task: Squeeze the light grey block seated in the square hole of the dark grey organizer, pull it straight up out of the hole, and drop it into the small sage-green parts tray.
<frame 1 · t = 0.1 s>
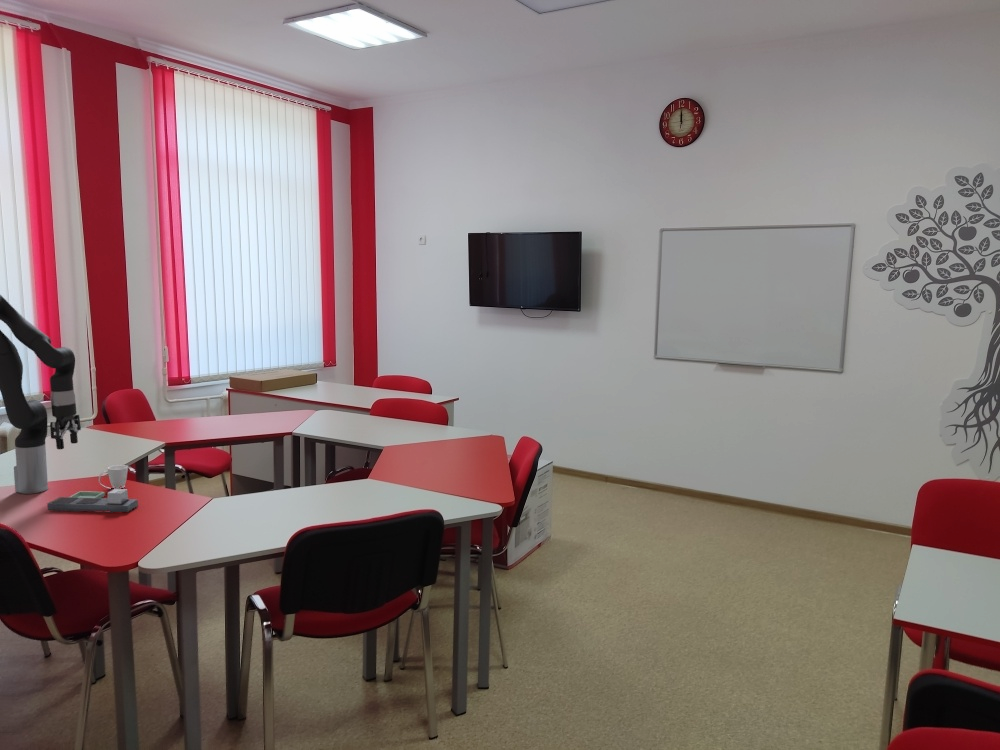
hand: (67, 446, 254), 17 cm above the table, tool pointing down, fingers open, 8 cm apart
cup: (114, 488, 262), on the table
tray: (85, 499, 248), on the table
dark grey organizer: (92, 508, 240), on the table
light grey block: (118, 509, 240), resting in dark grey organizer
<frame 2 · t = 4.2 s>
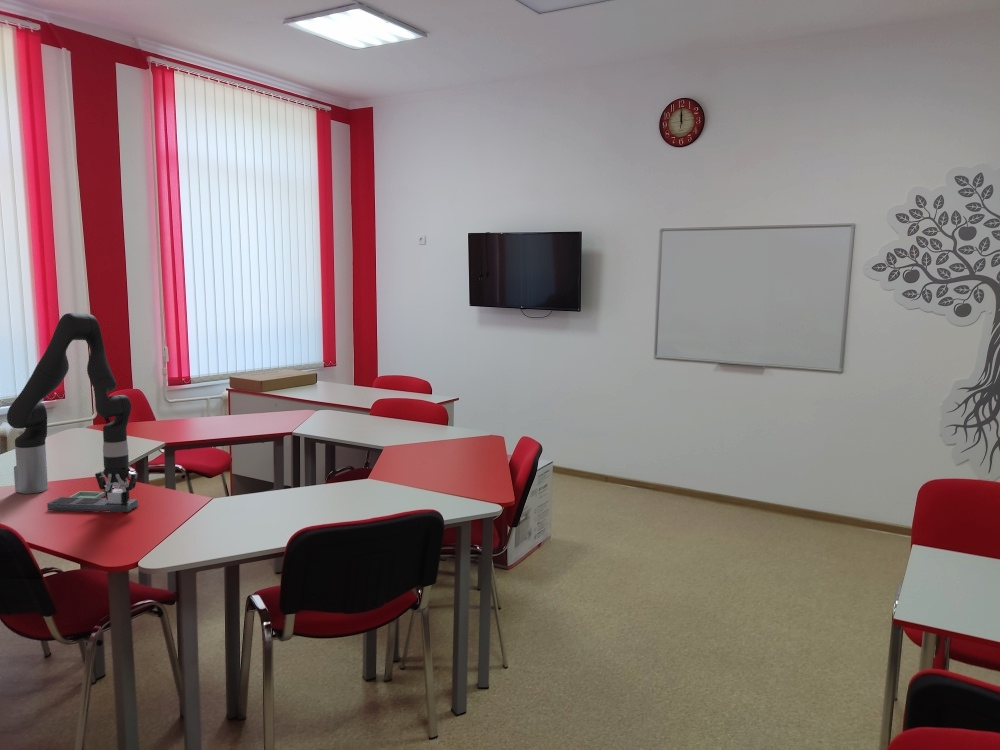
hand: (118, 501, 240), 3 cm above the table, tool pointing down, fingers closed on light grey block, 4 cm apart
light grey block: (118, 509, 240), resting in dark grey organizer, touching gripper
everything else where it was.
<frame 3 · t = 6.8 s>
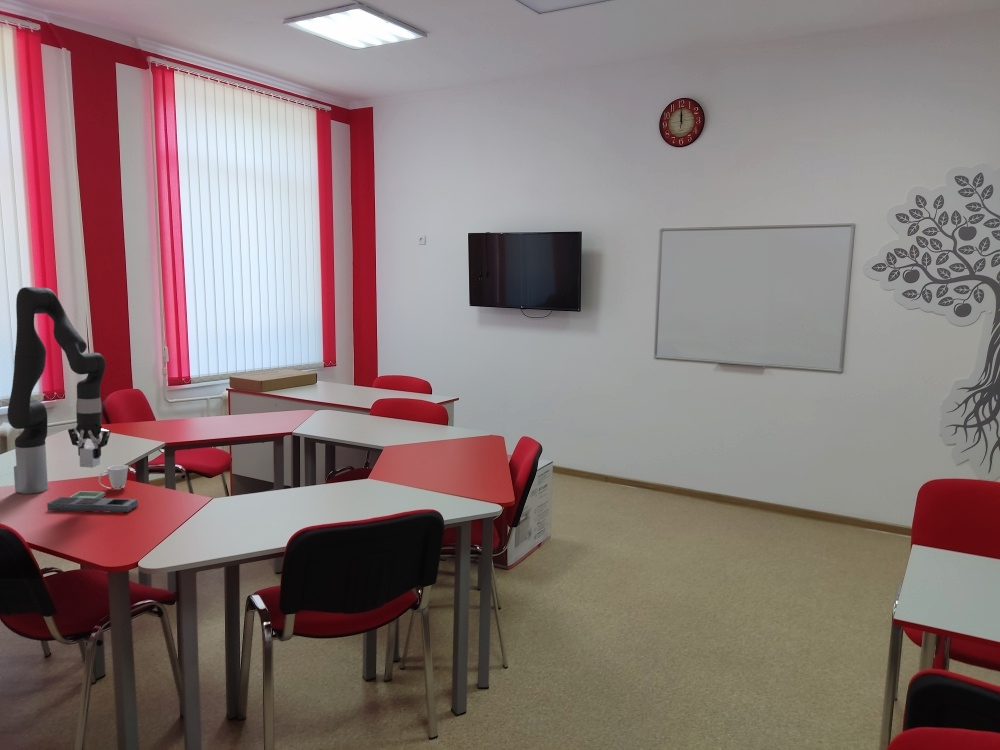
hand: (89, 457, 244), 16 cm above the table, tool pointing down, fingers closed on light grey block, 4 cm apart
light grey block: (90, 465, 244), point 13 cm above the table, touching gripper
everything else where it was.
when the fingers open (5 cm above the table, at t = 9.4 s): light grey block drops 2 cm, resting on tray.
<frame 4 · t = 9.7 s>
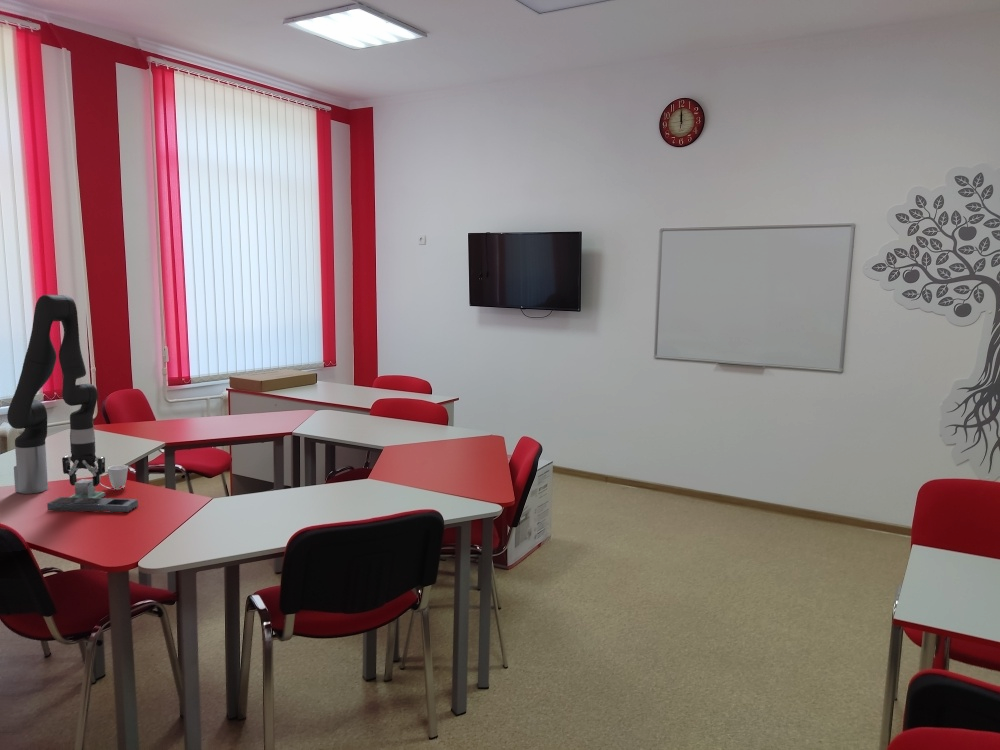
hand: (84, 485, 247), 5 cm above the table, tool pointing down, fingers open, 7 cm apart
light grey block: (85, 498, 248), resting on tray
everything else where it was.
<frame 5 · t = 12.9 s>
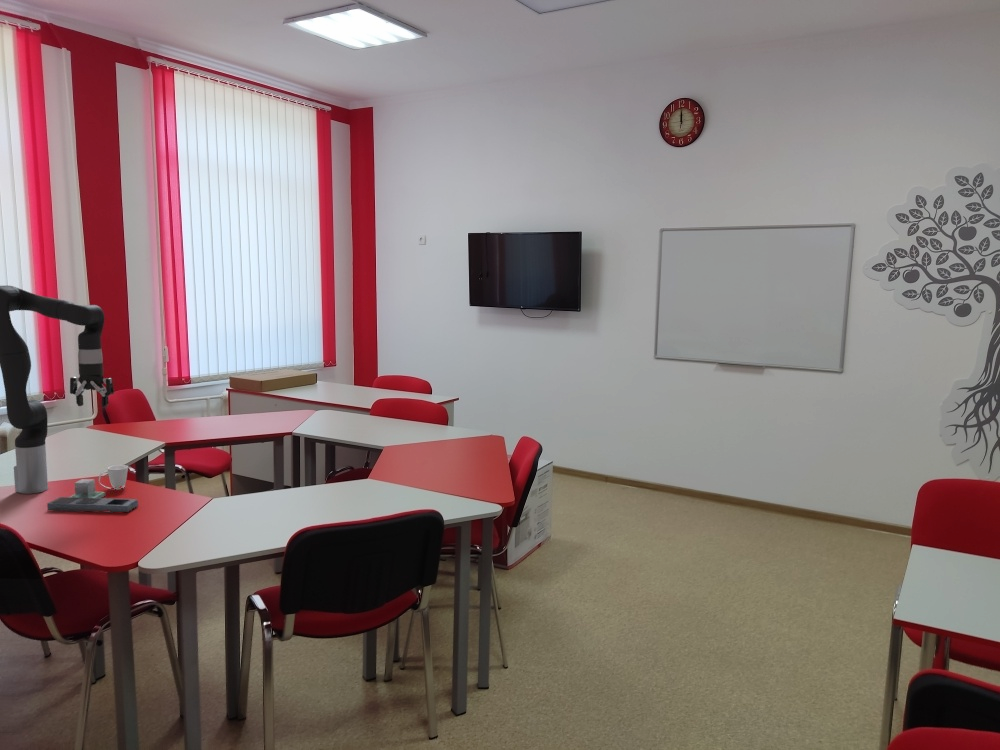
hand: (92, 406, 249), 33 cm above the table, tool pointing down, fingers open, 8 cm apart
nothing on the table moved.
at the end: light grey block inside the target area on the tray (0.0 cm from its centre), point 0.4 cm above the tray's base; the gripper is holding nothing; light grey block touching tray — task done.
